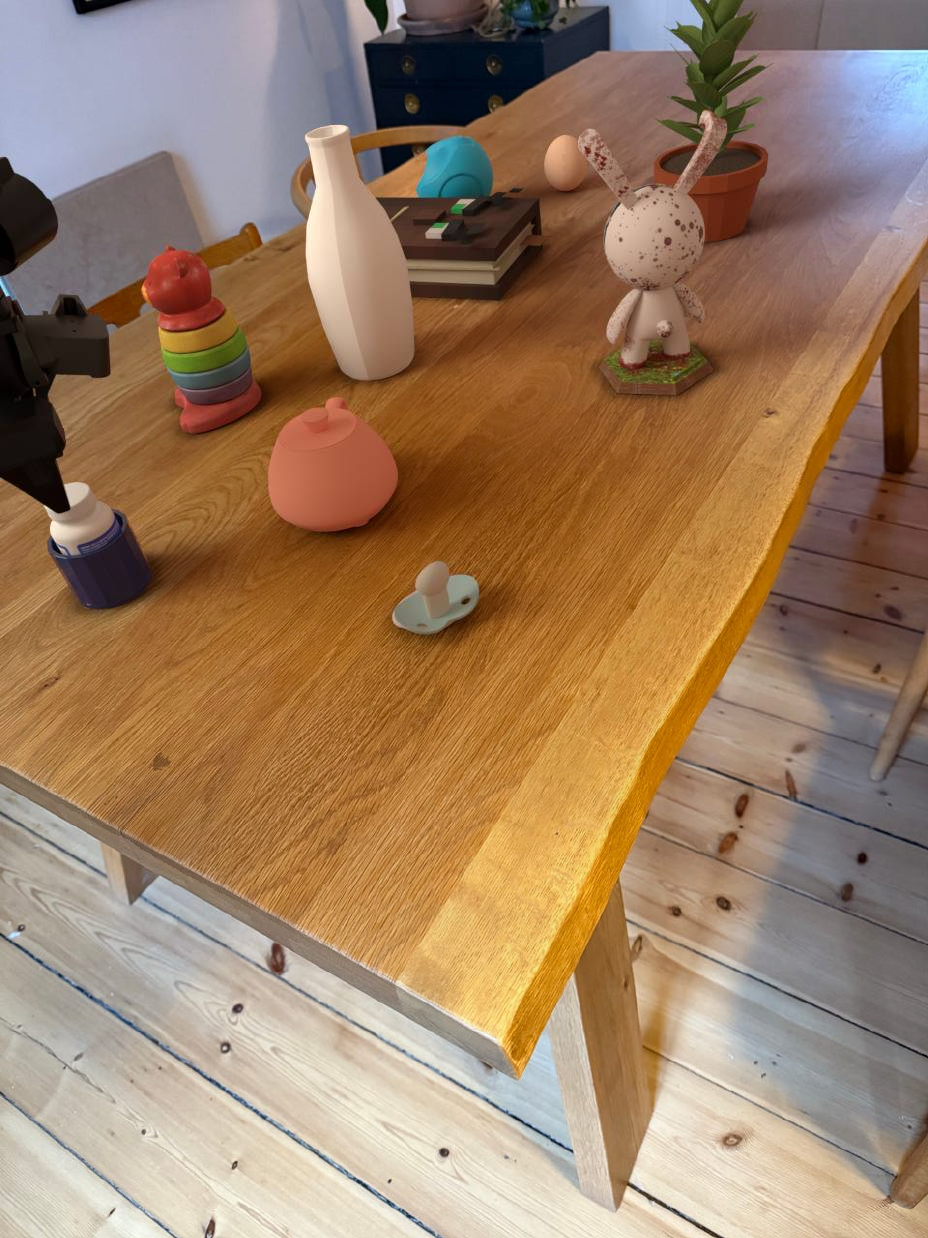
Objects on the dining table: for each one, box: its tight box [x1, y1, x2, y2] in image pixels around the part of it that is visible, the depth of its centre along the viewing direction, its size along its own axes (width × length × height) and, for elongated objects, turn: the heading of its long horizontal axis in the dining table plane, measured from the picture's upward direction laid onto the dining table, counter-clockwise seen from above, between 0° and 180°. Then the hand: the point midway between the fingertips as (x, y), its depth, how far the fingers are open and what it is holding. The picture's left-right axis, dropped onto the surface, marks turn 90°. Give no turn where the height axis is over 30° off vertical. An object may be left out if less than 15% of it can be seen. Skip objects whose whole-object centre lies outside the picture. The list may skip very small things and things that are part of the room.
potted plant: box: [653, 0, 774, 243], centre depth 112 cm, size 15×15×30 cm
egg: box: [543, 134, 588, 192], centre depth 138 cm, size 7×7×8 cm
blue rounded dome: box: [415, 134, 494, 198], centre depth 134 cm, size 12×11×12 cm
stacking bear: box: [140, 245, 262, 435], centre depth 99 cm, size 11×10×18 cm
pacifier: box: [391, 560, 480, 635], centre depth 71 cm, size 7×6×6 cm
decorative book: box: [375, 187, 550, 301], centre depth 122 cm, size 19×8×30 cm
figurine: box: [577, 110, 727, 397], centre depth 88 cm, size 14×12×25 cm
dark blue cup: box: [46, 508, 153, 610], centre depth 80 cm, size 7×7×6 cm
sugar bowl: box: [267, 396, 399, 533], centre depth 83 cm, size 12×14×10 cm
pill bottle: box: [43, 481, 121, 556], centre depth 78 cm, size 5×5×10 cm
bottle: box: [304, 124, 415, 382], centre depth 98 cm, size 11×11×25 cm
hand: (61, 483), depth 75 cm, fingers open, 9 cm apart
